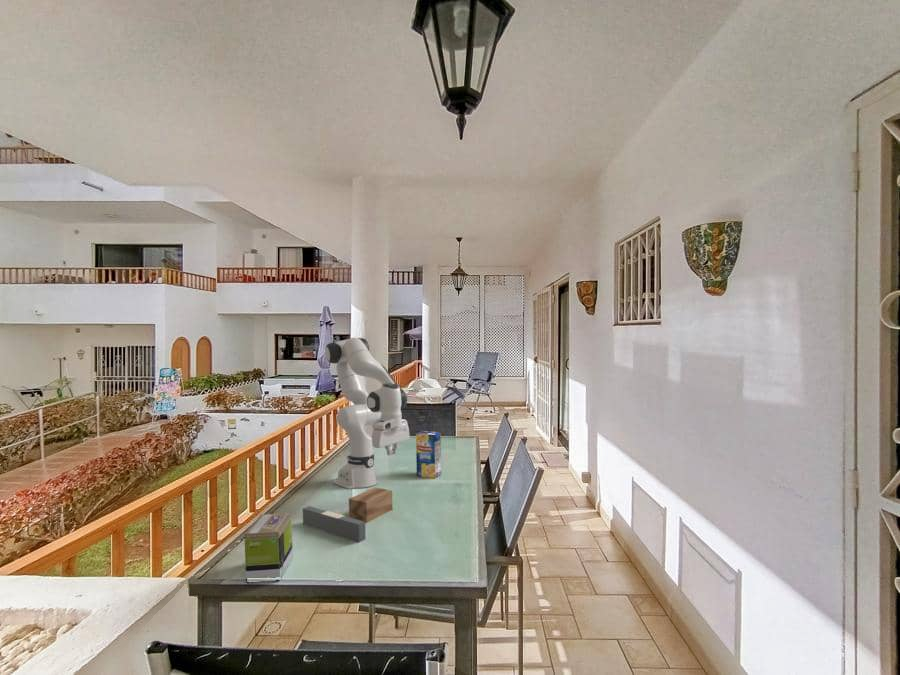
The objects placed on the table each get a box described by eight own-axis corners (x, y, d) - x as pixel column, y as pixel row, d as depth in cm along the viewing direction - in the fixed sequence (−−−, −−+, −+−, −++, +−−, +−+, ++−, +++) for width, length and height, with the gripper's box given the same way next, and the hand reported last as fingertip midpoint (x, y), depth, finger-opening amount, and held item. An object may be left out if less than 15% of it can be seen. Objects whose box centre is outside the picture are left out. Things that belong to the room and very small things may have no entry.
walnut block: (349, 519, 180) (348, 498, 180) (375, 506, 194) (375, 487, 194) (366, 523, 175) (366, 502, 175) (392, 509, 189) (392, 490, 189)
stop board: (302, 524, 175) (302, 508, 175) (309, 521, 178) (309, 505, 178) (359, 542, 158) (359, 524, 158) (365, 538, 161) (365, 521, 161)
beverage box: (435, 478, 231) (434, 434, 231) (416, 476, 236) (415, 433, 237) (441, 474, 237) (440, 432, 238) (423, 472, 242) (422, 430, 243)
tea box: (261, 559, 147) (260, 513, 147) (293, 557, 148) (293, 511, 148) (244, 584, 132) (243, 532, 132) (280, 582, 133) (279, 530, 133)
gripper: (401, 417, 206) (402, 448, 206) (369, 425, 189) (369, 458, 189) (412, 418, 203) (413, 450, 202) (380, 426, 186) (381, 460, 185)
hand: (391, 454), depth 196 cm, fingers closed
